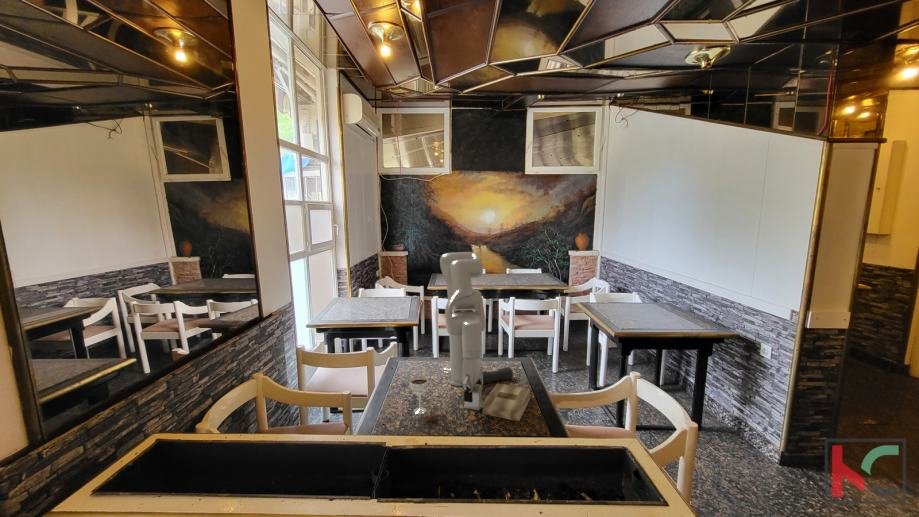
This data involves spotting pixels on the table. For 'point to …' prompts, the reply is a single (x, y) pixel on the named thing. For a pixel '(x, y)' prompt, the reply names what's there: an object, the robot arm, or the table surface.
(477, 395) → the block
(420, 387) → the wineglass
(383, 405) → the table surface
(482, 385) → the round bit
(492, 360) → the table surface
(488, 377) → the flashlight
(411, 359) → the table surface
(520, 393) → the socket block
